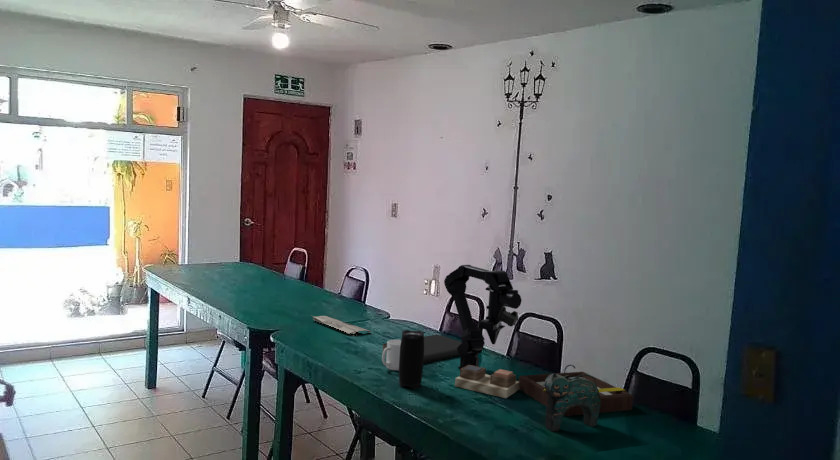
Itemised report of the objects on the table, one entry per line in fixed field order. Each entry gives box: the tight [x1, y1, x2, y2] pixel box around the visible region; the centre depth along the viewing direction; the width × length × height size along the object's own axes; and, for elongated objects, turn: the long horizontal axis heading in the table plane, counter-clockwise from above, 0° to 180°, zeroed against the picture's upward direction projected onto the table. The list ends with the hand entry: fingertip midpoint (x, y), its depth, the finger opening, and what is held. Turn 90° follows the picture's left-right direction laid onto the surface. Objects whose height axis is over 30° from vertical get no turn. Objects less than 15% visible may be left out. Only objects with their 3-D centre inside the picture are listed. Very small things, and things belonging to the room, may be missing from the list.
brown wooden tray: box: [518, 371, 634, 417], centre depth 227 cm, size 28×7×30 cm
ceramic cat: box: [544, 364, 601, 433], centre depth 200 cm, size 20×6×20 cm, turn 114°
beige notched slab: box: [311, 315, 372, 335], centre depth 314 cm, size 35×12×4 cm, turn 43°
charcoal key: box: [464, 366, 483, 372], centre depth 237 cm, size 5×5×3 cm
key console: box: [454, 365, 520, 399], centre depth 234 cm, size 20×12×6 cm, turn 60°
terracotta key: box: [493, 368, 514, 379], centre depth 231 cm, size 5×5×3 cm
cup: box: [381, 339, 401, 372], centre depth 251 cm, size 8×12×10 cm
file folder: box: [382, 334, 462, 365], centre depth 279 cm, size 33×4×24 cm
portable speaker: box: [398, 329, 425, 390], centre depth 231 cm, size 9×9×20 cm
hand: (493, 344), depth 246 cm, fingers closed
